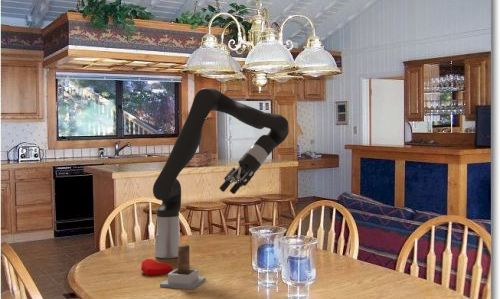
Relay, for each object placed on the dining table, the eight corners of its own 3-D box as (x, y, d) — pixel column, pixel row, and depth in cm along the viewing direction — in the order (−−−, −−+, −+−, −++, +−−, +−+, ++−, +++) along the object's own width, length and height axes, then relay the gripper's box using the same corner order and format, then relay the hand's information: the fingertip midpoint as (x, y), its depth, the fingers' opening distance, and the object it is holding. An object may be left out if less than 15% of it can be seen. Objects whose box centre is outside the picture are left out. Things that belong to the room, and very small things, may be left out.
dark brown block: (175, 281, 189) (175, 246, 188) (180, 278, 192) (180, 244, 192) (186, 282, 188) (186, 247, 187) (191, 279, 191) (191, 245, 191)
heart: (159, 282, 197) (173, 273, 206) (160, 271, 196) (174, 262, 205) (132, 274, 202) (147, 265, 211) (132, 263, 201) (147, 255, 210)
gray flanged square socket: (160, 286, 186) (159, 275, 186) (174, 277, 197) (174, 266, 197) (192, 289, 183) (192, 277, 182) (205, 279, 194) (205, 268, 194)
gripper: (238, 151, 210) (211, 183, 205) (256, 152, 198) (228, 186, 193) (250, 164, 213) (224, 196, 208) (269, 166, 201) (241, 200, 195)
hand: (226, 191), depth 200 cm, fingers open, 8 cm apart
